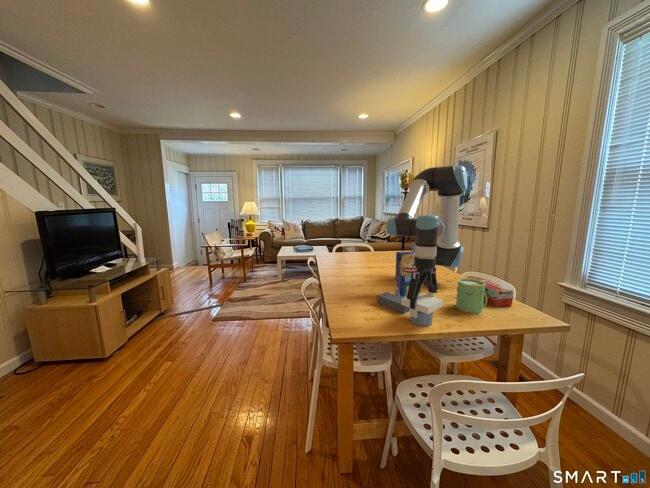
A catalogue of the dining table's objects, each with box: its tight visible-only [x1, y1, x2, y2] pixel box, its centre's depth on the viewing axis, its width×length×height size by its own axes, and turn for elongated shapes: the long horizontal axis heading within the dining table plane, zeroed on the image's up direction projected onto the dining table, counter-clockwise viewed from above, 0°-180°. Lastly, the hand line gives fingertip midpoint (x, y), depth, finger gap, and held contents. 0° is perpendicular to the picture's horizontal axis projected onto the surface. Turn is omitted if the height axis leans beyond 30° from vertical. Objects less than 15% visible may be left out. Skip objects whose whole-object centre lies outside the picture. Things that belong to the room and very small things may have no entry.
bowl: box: [409, 311, 434, 327], centre depth 98 cm, size 8×8×5 cm
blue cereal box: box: [394, 251, 423, 298], centre depth 123 cm, size 7×11×22 cm, turn 96°
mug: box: [455, 278, 488, 314], centre depth 109 cm, size 13×10×12 cm
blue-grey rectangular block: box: [376, 291, 410, 315], centre depth 112 cm, size 7×14×4 cm, turn 40°
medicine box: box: [478, 279, 514, 308], centre depth 119 cm, size 15×8×8 cm, turn 8°
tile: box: [401, 293, 444, 314], centre depth 98 cm, size 11×11×2 cm
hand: (421, 312), depth 98 cm, fingers closed on tile, 11 cm apart
